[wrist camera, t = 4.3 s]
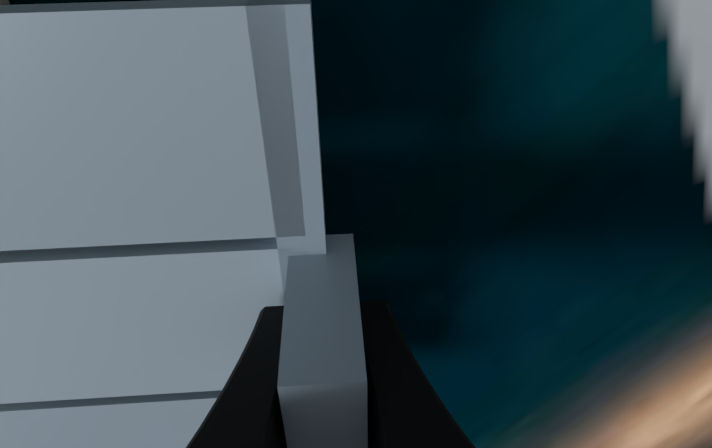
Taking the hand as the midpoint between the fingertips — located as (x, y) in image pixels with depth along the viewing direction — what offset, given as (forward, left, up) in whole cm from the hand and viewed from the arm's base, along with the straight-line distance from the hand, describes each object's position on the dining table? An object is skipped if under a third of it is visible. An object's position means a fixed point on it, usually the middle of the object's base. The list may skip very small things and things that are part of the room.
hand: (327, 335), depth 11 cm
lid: (0, +5, -1) cm, 5 cm away
